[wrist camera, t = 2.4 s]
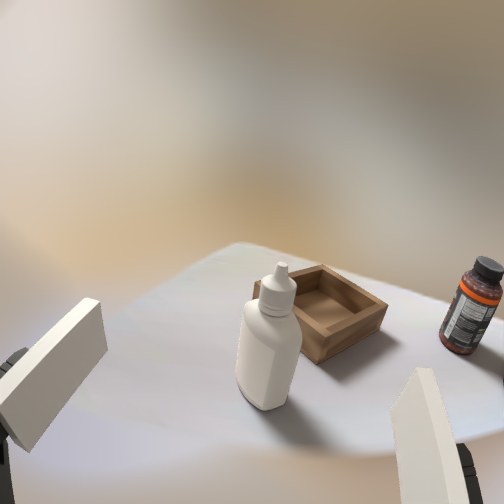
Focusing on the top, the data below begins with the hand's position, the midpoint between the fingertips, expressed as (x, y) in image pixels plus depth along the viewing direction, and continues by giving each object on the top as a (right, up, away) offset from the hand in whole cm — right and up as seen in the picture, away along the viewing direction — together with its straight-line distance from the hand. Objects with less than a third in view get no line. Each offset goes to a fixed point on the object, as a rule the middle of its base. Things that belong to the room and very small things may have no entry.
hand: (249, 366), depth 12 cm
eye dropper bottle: (+1, -7, +14) cm, 16 cm away
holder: (+8, -3, +24) cm, 26 cm away
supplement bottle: (+26, -7, +22) cm, 35 cm away
